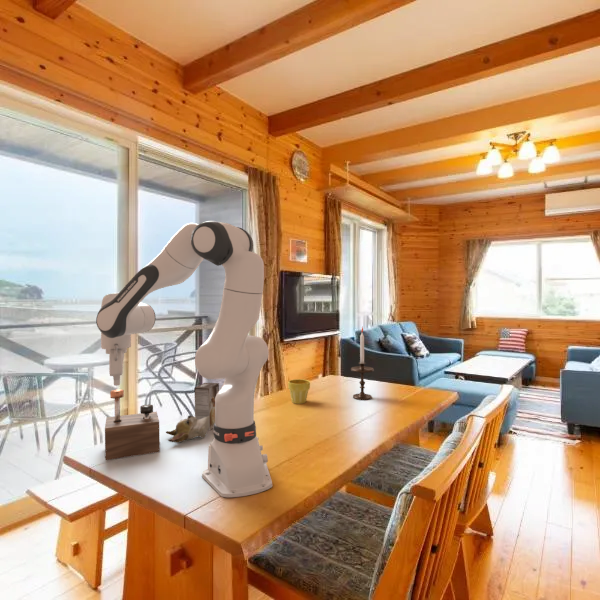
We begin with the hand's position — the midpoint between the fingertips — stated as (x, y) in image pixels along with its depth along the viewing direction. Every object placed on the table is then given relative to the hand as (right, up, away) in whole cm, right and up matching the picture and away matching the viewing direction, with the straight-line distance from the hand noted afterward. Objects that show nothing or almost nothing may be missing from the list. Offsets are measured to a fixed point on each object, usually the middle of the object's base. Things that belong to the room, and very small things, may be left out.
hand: (116, 384), depth 132 cm
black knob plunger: (+8, -21, +4) cm, 23 cm away
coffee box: (+24, -22, +25) cm, 41 cm away
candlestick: (+90, -20, +65) cm, 113 cm away
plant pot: (+59, -21, +59) cm, 86 cm away
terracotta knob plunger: (0, -15, 0) cm, 15 cm away
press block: (+4, -22, +2) cm, 22 cm away
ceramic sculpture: (+20, -22, +11) cm, 32 cm away
